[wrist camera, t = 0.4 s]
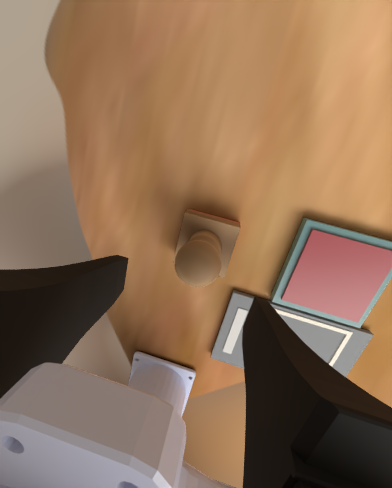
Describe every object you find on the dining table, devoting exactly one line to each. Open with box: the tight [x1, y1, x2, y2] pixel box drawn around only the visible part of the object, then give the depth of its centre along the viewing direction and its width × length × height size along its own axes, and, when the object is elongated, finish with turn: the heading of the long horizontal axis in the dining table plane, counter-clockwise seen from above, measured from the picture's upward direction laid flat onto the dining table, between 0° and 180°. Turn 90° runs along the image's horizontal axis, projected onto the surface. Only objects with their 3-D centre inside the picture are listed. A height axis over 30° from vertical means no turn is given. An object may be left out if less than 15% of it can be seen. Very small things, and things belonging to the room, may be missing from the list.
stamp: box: [173, 209, 240, 287], centre depth 18 cm, size 5×5×8 cm
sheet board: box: [211, 290, 373, 377], centre depth 23 cm, size 9×14×1 cm, turn 76°
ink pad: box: [270, 218, 392, 328], centre depth 20 cm, size 8×8×1 cm
